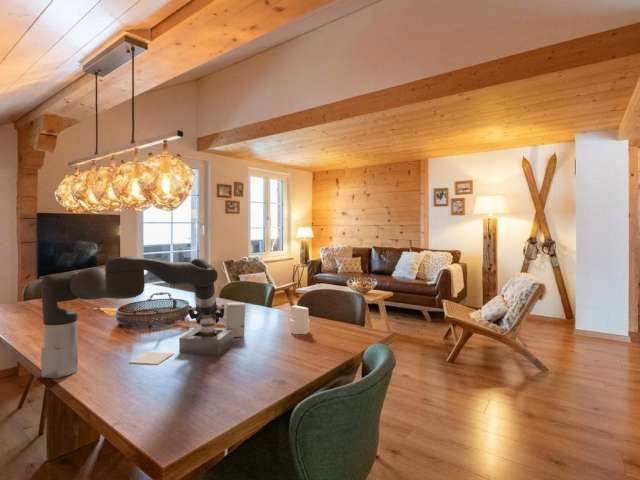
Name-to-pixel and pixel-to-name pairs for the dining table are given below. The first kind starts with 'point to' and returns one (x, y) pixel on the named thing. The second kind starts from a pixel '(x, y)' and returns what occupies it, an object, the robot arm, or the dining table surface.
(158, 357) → the rubber mat
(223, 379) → the dining table surface
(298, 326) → the cylinder with rectangular tab
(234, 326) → the skincare box
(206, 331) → the plastic bottle
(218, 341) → the housing block
